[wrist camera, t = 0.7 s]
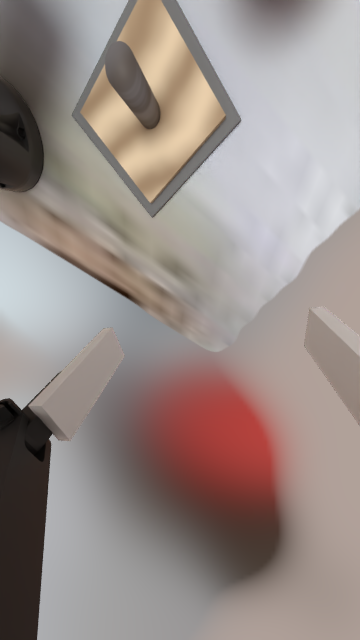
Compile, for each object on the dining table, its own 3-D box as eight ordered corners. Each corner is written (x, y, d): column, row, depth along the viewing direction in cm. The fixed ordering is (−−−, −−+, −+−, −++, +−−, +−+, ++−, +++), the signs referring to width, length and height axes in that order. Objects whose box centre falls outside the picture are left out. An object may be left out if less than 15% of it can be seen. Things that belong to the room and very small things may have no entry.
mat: (74, 117, 28) (71, 115, 28) (153, -39, 21) (151, -46, 20) (152, 217, 33) (151, 217, 33) (240, 120, 26) (241, 118, 25)
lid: (84, 115, 28) (24, 68, 19) (151, -12, 21) (107, -170, 13) (151, 203, 32) (127, 197, 23) (225, 118, 25) (230, 66, 17)
